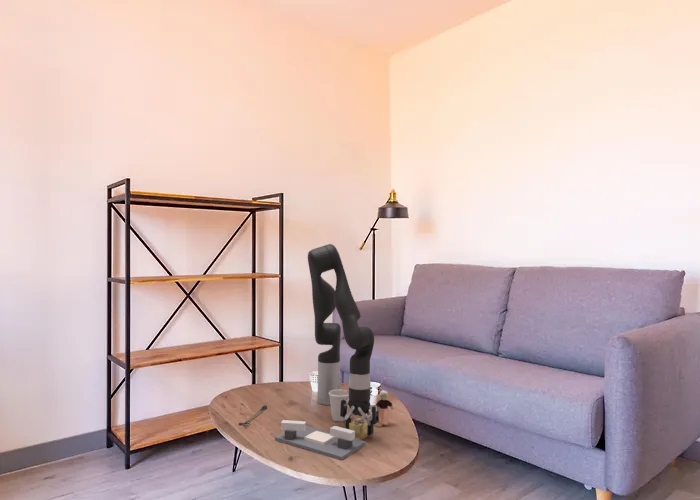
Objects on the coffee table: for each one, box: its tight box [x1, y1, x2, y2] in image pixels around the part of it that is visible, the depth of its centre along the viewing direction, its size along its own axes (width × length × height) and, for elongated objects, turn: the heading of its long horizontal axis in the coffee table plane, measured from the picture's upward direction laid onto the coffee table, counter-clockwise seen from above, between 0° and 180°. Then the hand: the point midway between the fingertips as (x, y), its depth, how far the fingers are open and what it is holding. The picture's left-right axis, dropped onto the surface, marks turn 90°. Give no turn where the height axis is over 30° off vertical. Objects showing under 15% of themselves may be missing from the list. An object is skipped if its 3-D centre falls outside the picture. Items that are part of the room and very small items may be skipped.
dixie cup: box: [329, 388, 349, 422], centre depth 179 cm, size 8×8×10 cm
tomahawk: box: [238, 404, 268, 427], centre depth 180 cm, size 21×7×1 cm, turn 165°
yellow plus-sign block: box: [349, 417, 368, 441], centre depth 162 cm, size 6×4×5 cm
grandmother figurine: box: [375, 390, 394, 427], centre depth 173 cm, size 8×4×13 cm, turn 118°
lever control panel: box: [274, 419, 366, 461], centre depth 156 cm, size 27×14×6 cm, turn 57°
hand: (359, 432), depth 162 cm, fingers open, 8 cm apart
